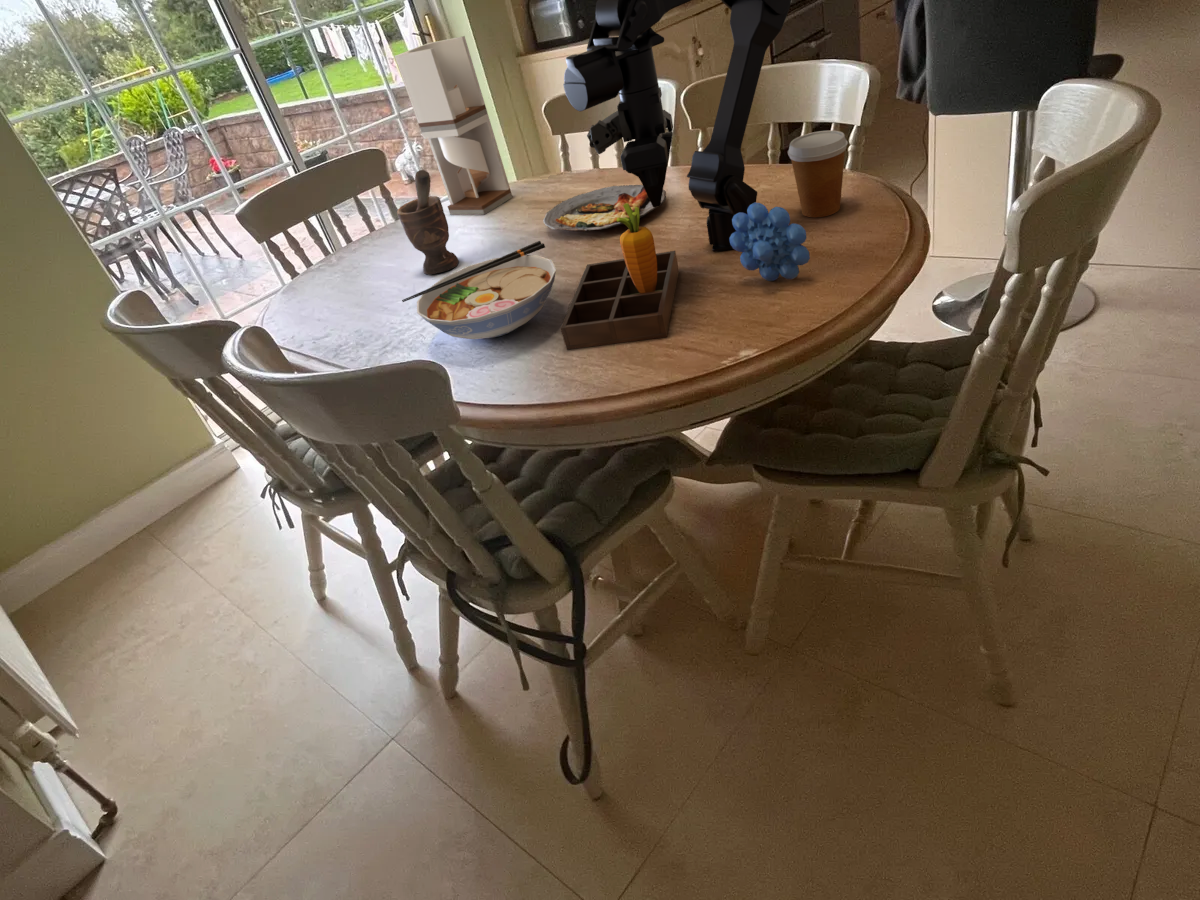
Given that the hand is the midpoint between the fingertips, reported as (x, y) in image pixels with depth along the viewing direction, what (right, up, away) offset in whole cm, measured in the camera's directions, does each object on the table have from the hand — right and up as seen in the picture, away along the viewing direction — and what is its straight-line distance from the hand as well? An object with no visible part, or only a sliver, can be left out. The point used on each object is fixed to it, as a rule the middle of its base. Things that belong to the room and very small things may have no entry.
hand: (658, 195), depth 114 cm
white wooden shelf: (-38, +20, +65) cm, 77 cm away
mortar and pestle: (-40, -3, +35) cm, 53 cm away
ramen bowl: (-25, -19, +6) cm, 32 cm away
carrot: (-1, -17, -1) cm, 17 cm away
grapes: (+16, -14, -3) cm, 22 cm away
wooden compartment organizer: (-5, -17, +1) cm, 18 cm away
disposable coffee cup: (+29, +2, +14) cm, 33 cm away
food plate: (-8, +8, +38) cm, 39 cm away
